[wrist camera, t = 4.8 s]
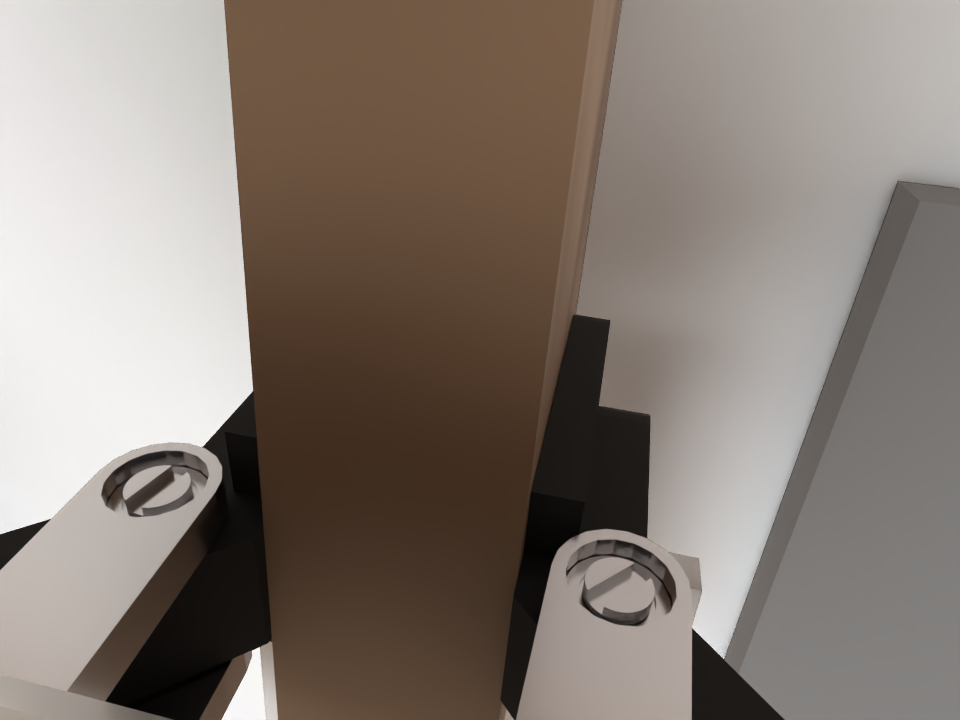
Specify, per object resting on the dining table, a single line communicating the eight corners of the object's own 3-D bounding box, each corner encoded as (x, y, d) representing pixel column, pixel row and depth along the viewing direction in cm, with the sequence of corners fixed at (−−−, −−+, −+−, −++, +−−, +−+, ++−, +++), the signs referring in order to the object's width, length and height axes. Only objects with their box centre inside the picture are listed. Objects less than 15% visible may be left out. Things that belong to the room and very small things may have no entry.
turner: (223, -175, 9) (-181, -359, 5) (893, -142, 8) (1214, -354, 3) (286, 746, 17) (160, 999, 13) (622, 834, 16) (611, 1149, 11)
